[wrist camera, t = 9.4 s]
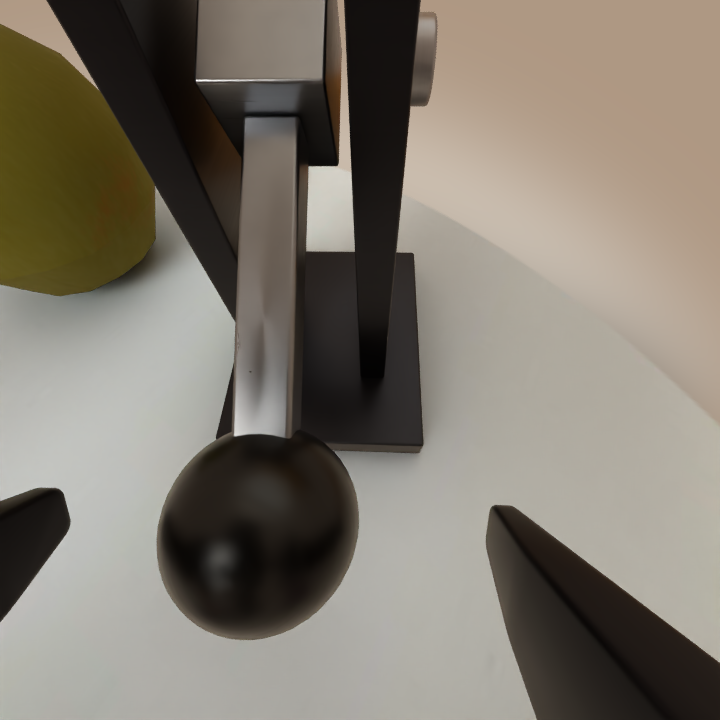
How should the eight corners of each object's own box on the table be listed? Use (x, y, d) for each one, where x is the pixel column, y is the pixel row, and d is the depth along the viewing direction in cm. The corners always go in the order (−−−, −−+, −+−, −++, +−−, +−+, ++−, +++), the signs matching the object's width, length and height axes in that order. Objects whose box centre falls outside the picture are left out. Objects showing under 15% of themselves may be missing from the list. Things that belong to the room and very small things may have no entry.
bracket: (419, 453, 14) (627, 76, 3) (225, 447, 14) (-291, 81, 3) (411, 268, 19) (476, -147, 8) (266, 266, 19) (120, -136, 8)
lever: (360, 565, 8) (351, 715, 5) (212, 559, 8) (94, 699, 5) (371, 72, 9) (371, -139, 5) (230, 73, 9) (133, -133, 5)
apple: (214, 209, 21) (88, -67, 12) (140, 341, 17) (-162, 68, 7) (68, 194, 22) (-158, -72, 13) (-38, 315, 18) (-512, 43, 8)
